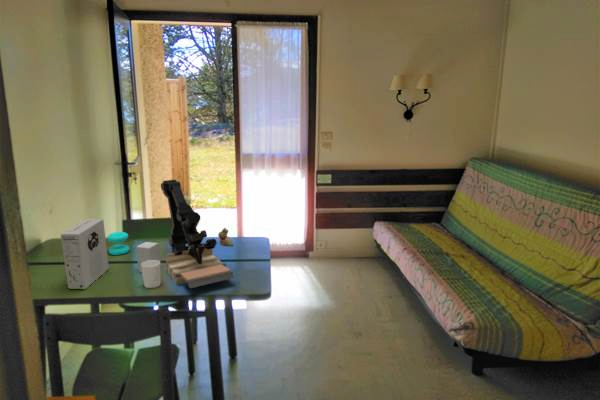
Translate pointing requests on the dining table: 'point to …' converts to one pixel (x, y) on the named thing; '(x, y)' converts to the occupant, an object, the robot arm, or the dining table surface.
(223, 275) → the panel
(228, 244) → the chocolate bunny
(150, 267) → the white cup
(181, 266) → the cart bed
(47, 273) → the dining table surface
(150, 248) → the supplement box
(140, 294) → the dining table surface
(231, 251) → the dining table surface
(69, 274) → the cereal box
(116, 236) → the donuts
